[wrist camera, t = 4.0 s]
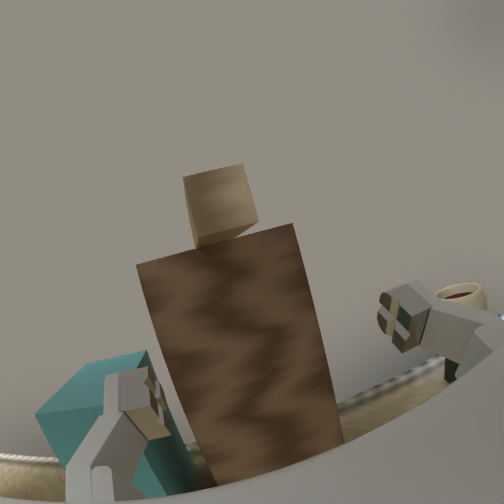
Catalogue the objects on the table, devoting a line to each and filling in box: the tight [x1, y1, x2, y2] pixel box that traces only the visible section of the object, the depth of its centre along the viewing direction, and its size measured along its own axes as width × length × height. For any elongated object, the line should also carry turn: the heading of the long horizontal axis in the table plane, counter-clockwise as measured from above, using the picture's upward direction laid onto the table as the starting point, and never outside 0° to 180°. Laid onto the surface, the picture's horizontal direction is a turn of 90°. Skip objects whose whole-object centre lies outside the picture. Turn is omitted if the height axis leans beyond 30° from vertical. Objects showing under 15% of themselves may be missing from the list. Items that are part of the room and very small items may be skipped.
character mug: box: [434, 282, 488, 382], centre depth 34 cm, size 11×7×13 cm, turn 94°
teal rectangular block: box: [35, 350, 195, 499], centre depth 26 cm, size 8×15×17 cm, turn 10°
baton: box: [183, 164, 259, 249], centre depth 25 cm, size 3×22×3 cm, turn 10°
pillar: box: [136, 223, 344, 486], centre depth 29 cm, size 12×13×26 cm
